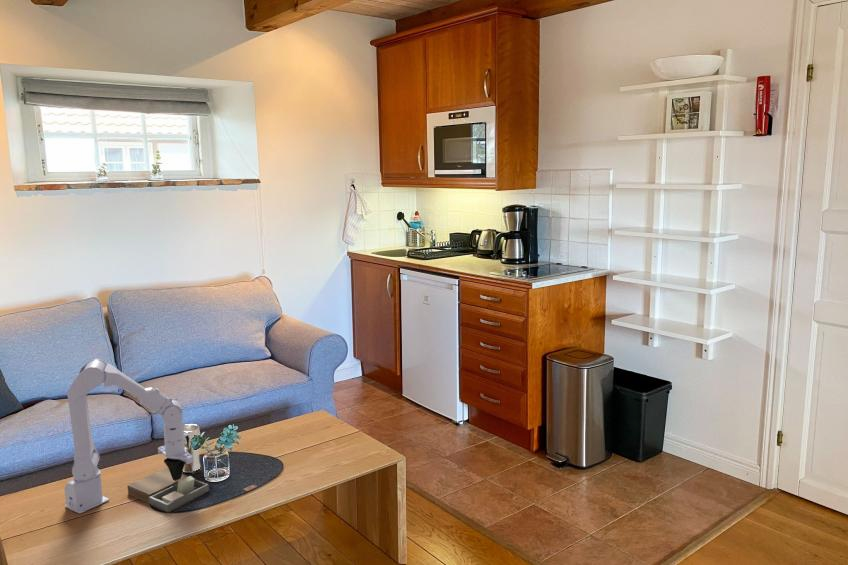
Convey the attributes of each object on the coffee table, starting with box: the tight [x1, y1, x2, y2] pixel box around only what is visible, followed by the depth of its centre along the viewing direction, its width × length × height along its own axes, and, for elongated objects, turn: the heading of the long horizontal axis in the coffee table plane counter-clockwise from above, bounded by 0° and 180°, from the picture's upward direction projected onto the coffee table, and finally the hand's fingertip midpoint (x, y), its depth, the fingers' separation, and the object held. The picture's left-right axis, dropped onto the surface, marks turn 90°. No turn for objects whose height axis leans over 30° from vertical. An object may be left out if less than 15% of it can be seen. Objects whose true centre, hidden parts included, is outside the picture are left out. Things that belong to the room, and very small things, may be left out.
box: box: [148, 478, 210, 513], centre depth 200 cm, size 15×9×2 cm, turn 148°
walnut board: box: [127, 467, 189, 504], centre depth 206 cm, size 14×11×3 cm
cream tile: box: [162, 491, 184, 503], centre depth 197 cm, size 4×4×2 cm
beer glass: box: [182, 423, 202, 473], centre depth 218 cm, size 7×7×15 cm
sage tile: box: [177, 475, 196, 495], centre depth 202 cm, size 4×4×2 cm
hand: (177, 479), depth 205 cm, fingers closed
